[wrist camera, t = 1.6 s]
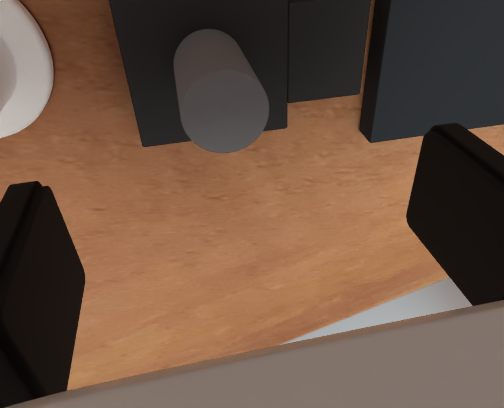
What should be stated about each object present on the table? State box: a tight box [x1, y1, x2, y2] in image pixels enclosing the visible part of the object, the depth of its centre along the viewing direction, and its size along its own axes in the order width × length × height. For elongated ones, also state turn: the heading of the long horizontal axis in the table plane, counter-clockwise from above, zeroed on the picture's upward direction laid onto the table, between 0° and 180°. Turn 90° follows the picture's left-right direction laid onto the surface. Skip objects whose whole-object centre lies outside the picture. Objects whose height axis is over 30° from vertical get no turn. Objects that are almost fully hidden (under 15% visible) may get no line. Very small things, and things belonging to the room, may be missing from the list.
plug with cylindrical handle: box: [109, 0, 371, 153], centre depth 17 cm, size 11×7×6 cm, turn 93°
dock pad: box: [360, 0, 504, 143], centre depth 20 cm, size 12×12×2 cm
